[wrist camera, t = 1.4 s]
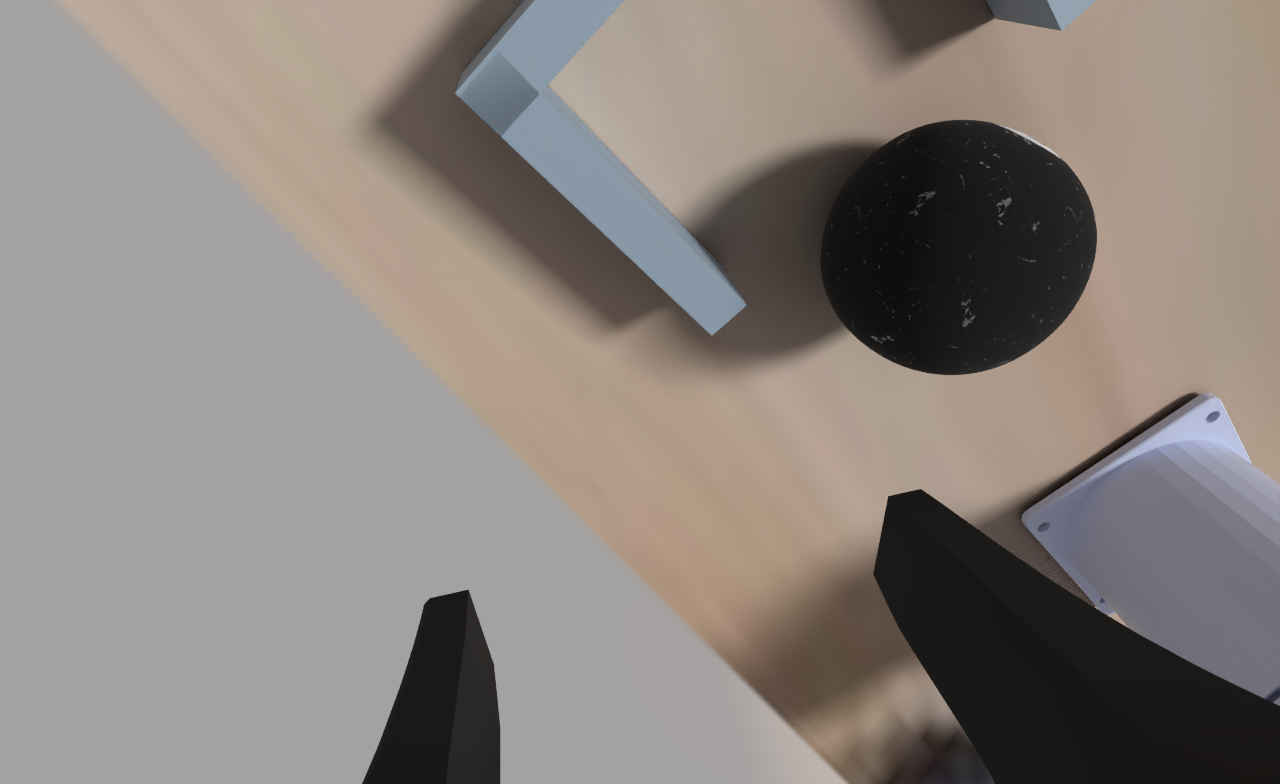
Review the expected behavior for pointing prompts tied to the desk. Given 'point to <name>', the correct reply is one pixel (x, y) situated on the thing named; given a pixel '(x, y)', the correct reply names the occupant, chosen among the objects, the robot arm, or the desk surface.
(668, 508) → the desk surface
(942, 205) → the billiard ball
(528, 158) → the corral
